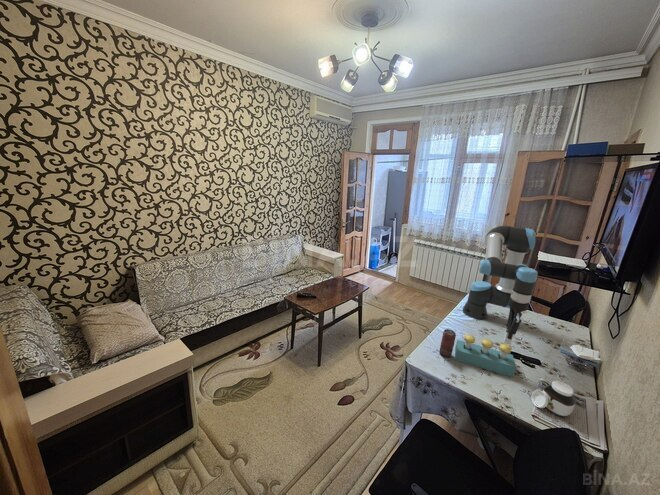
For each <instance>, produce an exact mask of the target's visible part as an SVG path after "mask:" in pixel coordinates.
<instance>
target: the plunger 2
mask: <svg viewBox="0 0 660 495" xmlns="http://www.w3.org/2000/svg"><path fill="white" fill-rule="evenodd" d="M499 351H501V353H500V357H499V359H502V360H505V361H506V357H507V354H511V352H512V346H510V344H506V343H500V346H499Z"/></svg>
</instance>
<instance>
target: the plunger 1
mask: <svg viewBox="0 0 660 495" xmlns="http://www.w3.org/2000/svg"><path fill="white" fill-rule="evenodd" d="M464 342H466V343H465V347H464V349H467V350H470V349H471V345H472V344H475V342H476V337H475V336H474V335H472V334H469V333H467V334H464Z"/></svg>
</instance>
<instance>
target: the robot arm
mask: <svg viewBox="0 0 660 495" xmlns="http://www.w3.org/2000/svg"><path fill="white" fill-rule="evenodd" d="M485 243H486V248H485V249H486V250H485V258H484V259H482V260H481V261H480V265H479V268H478V269H479V270H478V271H479V274H483V275H486V276H491V277H496V278H499V282H498V283H496V284H495V286H493V285H492V284H491V283H490V282H487V281H485V280H484V281H483V280H477V281H476V280H475V281H472V283H471V285H470V288H469V294H468V296H467V300H466V302H465V303H464V305H463V306H462V312H463V314H465V315H466V316H467V315H468V316H467V317H470V316H471V317H470V318H472V317H473V319H476V318H477V320H484V319H487V317H488V309H487V305H488V304H491V305H493V306H499V307H501V308H507V309H509V313H508V318H507V322H506V323H507V324H506V331H505V335H504V338H503V344H507V345H509V346H510V345H512V341H513V338H514V335H516V334H517V332H518V329H519V326H520V324H521V323H522V319H521V318H522V315H523V312H526V311H527V310H528V308H529V306H530V303H531V300H532V296H533V291H534V289H535V285H536V282H537V280H538V273H539V272H538V271H537V270H535V269H534V268H531V267H529V266H528V265H525V264H523V261H524V258H525V255H526V254H528V253H529V252H530V250H533V249H534V248H535V243H536V231H535V230H534V229H532V228H527V227H519V226H510V225H509V226H508V225H500V226H499V225H498V226H496V227H494V228H491V229H490V230H489V231H488V232H487V234H486V235H485ZM503 246H505V248H506V250H507V254H506V257H505V260H504V262H502V261H503Z"/></svg>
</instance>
